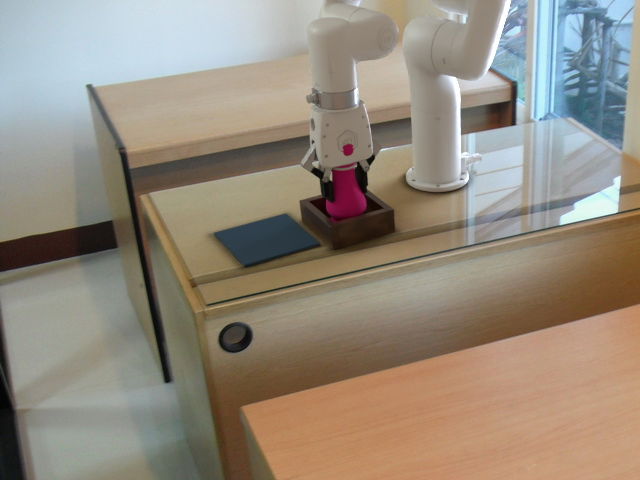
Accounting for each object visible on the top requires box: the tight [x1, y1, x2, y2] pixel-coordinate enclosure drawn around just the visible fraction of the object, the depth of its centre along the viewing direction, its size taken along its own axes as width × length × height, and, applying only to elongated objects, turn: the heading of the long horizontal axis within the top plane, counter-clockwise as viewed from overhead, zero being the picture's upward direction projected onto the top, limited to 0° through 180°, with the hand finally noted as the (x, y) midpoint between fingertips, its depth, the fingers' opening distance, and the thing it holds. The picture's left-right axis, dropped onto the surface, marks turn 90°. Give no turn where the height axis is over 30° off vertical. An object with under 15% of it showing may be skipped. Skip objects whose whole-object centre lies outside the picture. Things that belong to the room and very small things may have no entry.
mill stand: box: [298, 188, 396, 251], centre depth 171 cm, size 13×13×4 cm
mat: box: [213, 212, 320, 268], centre depth 167 cm, size 14×14×1 cm
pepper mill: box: [326, 144, 366, 222], centre depth 166 cm, size 7×7×20 cm
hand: (345, 194), depth 168 cm, fingers open, 5 cm apart
